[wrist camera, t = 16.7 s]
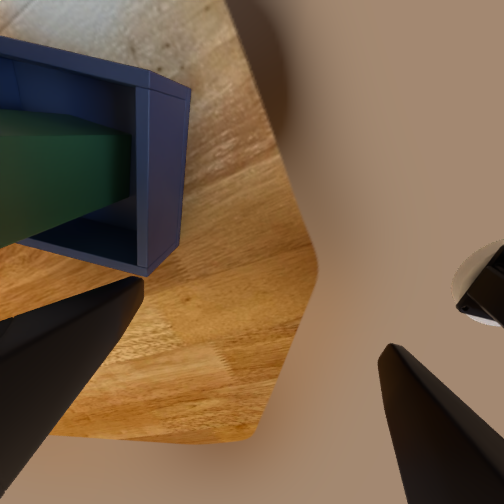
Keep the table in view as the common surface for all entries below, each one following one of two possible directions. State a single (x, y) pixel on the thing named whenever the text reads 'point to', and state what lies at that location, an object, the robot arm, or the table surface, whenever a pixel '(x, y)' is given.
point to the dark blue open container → (120, 118)
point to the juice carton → (57, 170)
